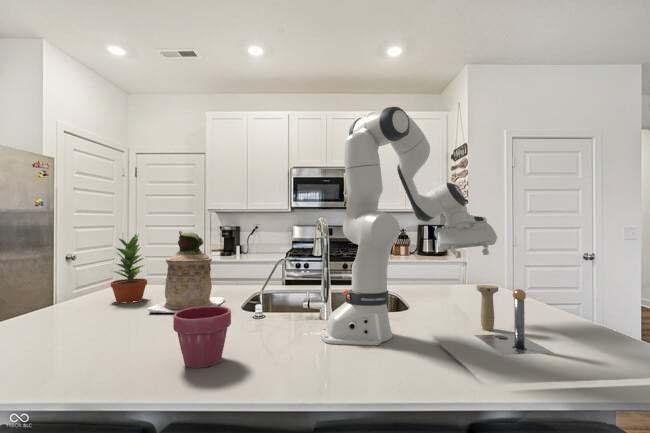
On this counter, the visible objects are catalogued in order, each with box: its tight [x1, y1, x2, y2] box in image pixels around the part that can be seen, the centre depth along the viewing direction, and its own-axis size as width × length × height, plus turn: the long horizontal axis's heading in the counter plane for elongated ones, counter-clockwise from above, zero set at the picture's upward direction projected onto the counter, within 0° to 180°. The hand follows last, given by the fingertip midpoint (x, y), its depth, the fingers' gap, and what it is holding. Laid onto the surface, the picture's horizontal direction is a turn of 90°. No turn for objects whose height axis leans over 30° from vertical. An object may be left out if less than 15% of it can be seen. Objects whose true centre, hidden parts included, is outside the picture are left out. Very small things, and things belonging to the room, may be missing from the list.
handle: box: [476, 284, 499, 332], centre depth 117 cm, size 5×6×15 cm
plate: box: [473, 333, 555, 355], centre depth 104 cm, size 14×16×1 cm
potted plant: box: [110, 233, 148, 303], centre depth 165 cm, size 15×15×30 cm
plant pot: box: [172, 305, 232, 369], centre depth 95 cm, size 14×14×13 cm
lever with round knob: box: [512, 288, 527, 350], centre depth 100 cm, size 3×3×16 cm
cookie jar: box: [146, 230, 225, 314], centre depth 153 cm, size 25×25×32 cm
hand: (472, 255), depth 128 cm, fingers open, 8 cm apart
